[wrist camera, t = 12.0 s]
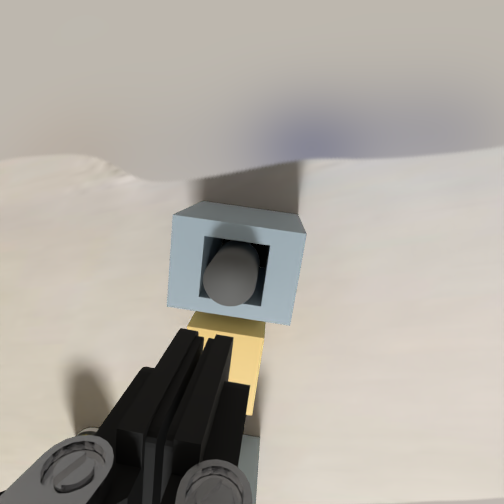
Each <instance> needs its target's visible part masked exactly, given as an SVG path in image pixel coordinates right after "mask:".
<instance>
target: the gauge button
mask: <svg viewBox="0 0 504 504" xmlns="http://www.w3.org/2000/svg"><path fill="white" fill-rule="evenodd" d="M259 264H260V260H259V255H258V253H257V251H256V249H255V248H254V247H253V246H252V245H250V244H249V243H247V242H243V241H236V240H233V241H229V242H227V243H225V244H224V245H223V246H222V247H221V248H220V249H219V251H218V252H217V253H216V255H215V256H214V258H213V259H212V261H211V262H210V263H209V265H208V266H207V268H206V270H205V272H204V275H203V285H204V289H205V291H206V293H207V294H208V296H209V297H210V298H211V299H212V300H213V301H215V302H216V303H218V304H220V305H223V306H238V305H241V304H243V303H245V302H246V301H247V300H249V298H250V297H251V296H252V295H253V293H254V290H255V286H256V281H257V276H258V270H259Z"/></svg>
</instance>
